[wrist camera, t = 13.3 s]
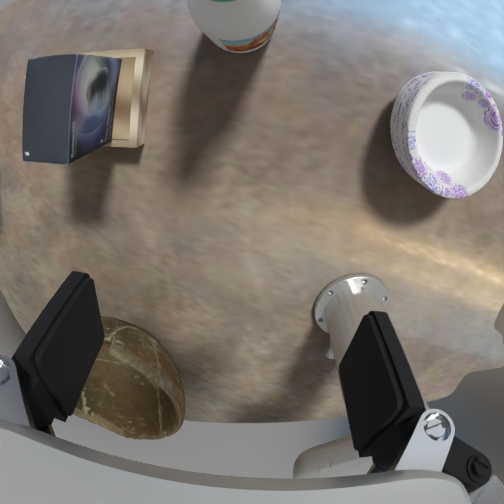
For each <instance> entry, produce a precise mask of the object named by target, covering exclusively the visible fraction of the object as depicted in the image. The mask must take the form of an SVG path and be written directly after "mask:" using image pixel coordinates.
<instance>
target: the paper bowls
mask: <svg viewBox="0 0 504 504" xmlns="http://www.w3.org/2000/svg"><path fill="white" fill-rule="evenodd" d="M390 128H391V140H392V145H393V148H394V151H395V154H396V156H397V159H398V160H399V162H400V164H401V165H402V167H403V168H404V170H405V171H406V172H407V173H408V174H409V175H410V176H411V177H412V178H413V179H415V180H416V181H417V182H419V183H420V184H421V185H423V186H424V187H425V188H427V189H428V190H430V191H431V192H433V193H434V194H436V195H439V196H442V197H445V198H454V199H455V198H463V197H466V196H469V195H471V194H473V193H475V192H476V191H478V190H479V189H481V188H482V187H483V186H484V185H485V184H486V183H487V182H488V180H489V179H490V178H491V176H492V175H493V173H494V171H495V169H496V167H497V165H498V163H499V159H500V156H501V151H502V144H503V129H502V123H501V118H500V114H499V111H498V108H497V106H496V104H495V102H494V100H493V98H492V97H491V95H490V94H489V92H488V91H487V90H486V89H485V88H484V87H483V86H482V85H481V84H480V83H479V82H478V81H476V80H475V79H473V78H472V77H470V76H468V75H465V74H463V73H457V72H444V71H442V72H439V71H434V72H433V71H432V72H427V73H423V74H420V75H418V76H416V77H414V78H413V79H411V80H410V81H409V82H407V83H406V84H405V85H404V86H403V88H402V89H401V91H400V92H399V94H398V96H397V98H396V100H395V103H394V106H393V110H392V114H391V124H390Z"/></svg>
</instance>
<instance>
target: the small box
mask: <svg viewBox="0 0 504 504" xmlns="http://www.w3.org/2000/svg"><path fill="white" fill-rule="evenodd" d="M121 62H122V59H121V58H112V57H104V56H94V55H83V54H63V55H53V56H44V57H37V58H31V59H28V64H27V73H26V82H25V93H24V107H23V161H24V162H39V163H52V164H63V165H68V164H70V163H71V162H73V161H75V160H77V159H79V158H81V157H82V156H84V155H86V154H88V153H90V152H92V151H94V150H96V149H98V148H100V147H101V146H103V145H106V144H108V143H110V142H111V139H112V128H113V118H114V109H115V101H116V93H117V86H118V79H119V73H120V67H121Z"/></svg>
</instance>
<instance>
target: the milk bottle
mask: <svg viewBox="0 0 504 504" xmlns="http://www.w3.org/2000/svg"><path fill="white" fill-rule="evenodd" d="M280 6H281V0H188V8H189V12H190V15H191V17H192V19H193V21H194V22H195V23H196V25H197V26H198V27H199V28H200V30H201V31H202V32H203V33H204V34H205V35H206V36H207V37H208V38H209V39H210V40H211V41H213V42H214V43H215V44H216V45H217V46H219V47H220V48H222V49H224V50H226V51H229V52H233V53H248V52H252V51H255V50H257V49H259V48H260V47H262V46H263V45H265V44H266V43H267V42H268V41H269V39H270V38H271V36H272V34H273V32H274V29H275V26H276V23H277V20H278V16H279V13H280Z"/></svg>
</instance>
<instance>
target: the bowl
mask: <svg viewBox="0 0 504 504" xmlns="http://www.w3.org/2000/svg"><path fill="white" fill-rule="evenodd" d="M101 320H102V325H103V329H104V334H105V337H104V342H103V345H102V347H101V349H100V351H99V353H98V356H97V358H96V360H95V362H94V364H93V367H92V369H91V371H90V374H89V376H88V378H87V381H86V383H85V385H84V388H83V390H82V392H81V395H80V397H79V400H78V402H77V405H76V407H75V410H74V412H73V414H75V415H77V416H78V417H80V418H84V419H86V420H88V421H89V422H92V423H94V424H98V425H100V426H101V427H104V428H106V429H108V430H110V431H112V432H115V433H117V434H119V435H121V436H124V437H126V438H133V439H161V438H164V437H165V436H167V437H168V436H171V435H173V434H175V433H176V432H177V431H178V430H179V429H180V428H181V426H182V424H183V421H184V417H185V398H184V390H183V385H182V382H181V379H180V376H179V373H178V371H177V369H176V367H175V365H174V363H173V361H172V360H171V358H170V356H169V355H168V354H167V352H166V351H165V350H164V349H163V348H162V347H161V346H160V345H159V344H158V342H157V341H156V339H155V338H154V337H153V336H151V335H150V334H149V333H147V332H146V331H144V330H142V329H141V328H139V327H137V326H135V325H132V324H130V323H127V322H125V321H121V320H118V319H114V318H110V317H101Z"/></svg>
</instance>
